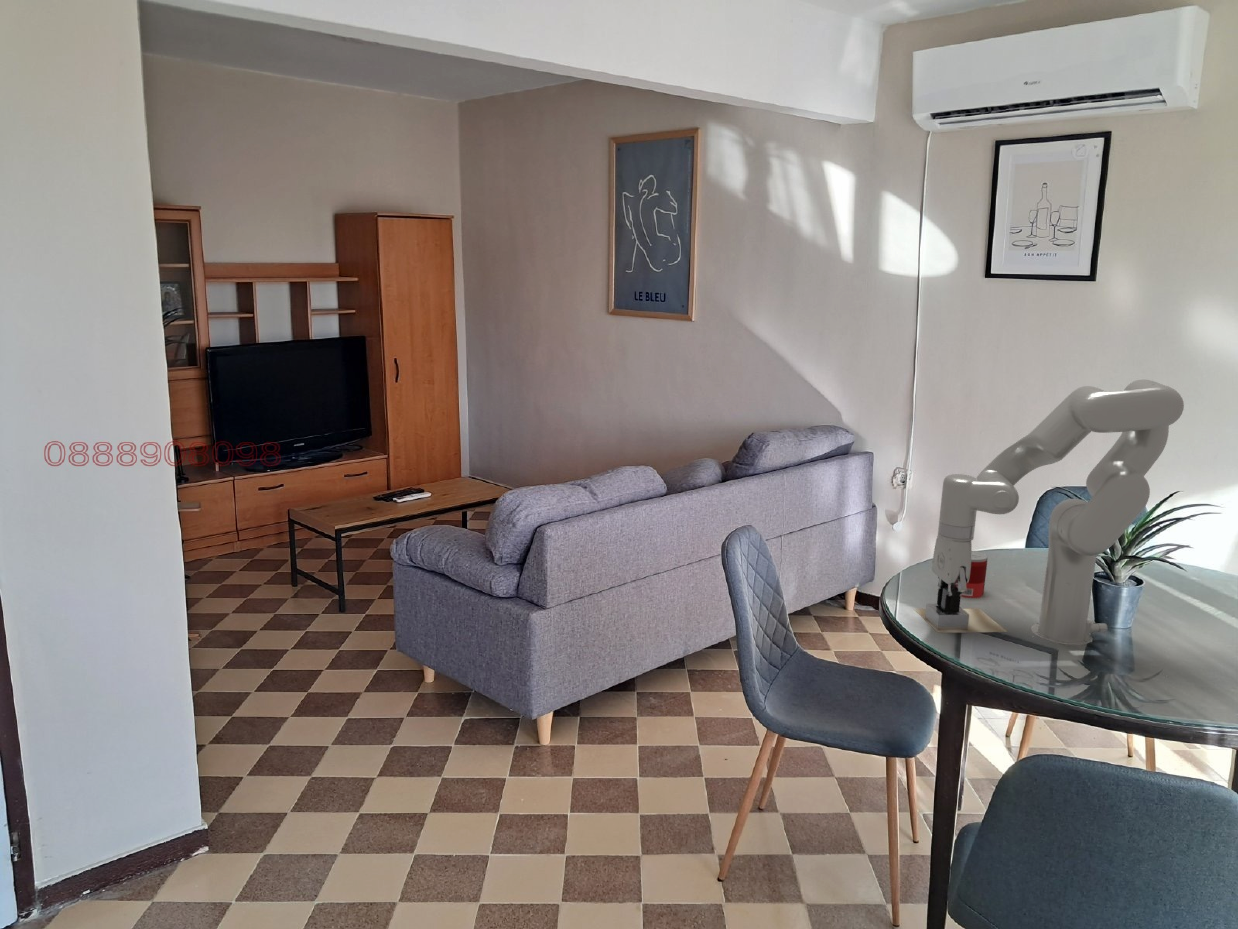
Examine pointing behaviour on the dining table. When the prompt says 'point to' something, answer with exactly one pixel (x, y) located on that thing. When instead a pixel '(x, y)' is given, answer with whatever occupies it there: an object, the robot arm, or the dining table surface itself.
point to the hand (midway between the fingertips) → (947, 607)
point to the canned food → (976, 576)
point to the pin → (945, 592)
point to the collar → (946, 618)
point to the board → (971, 622)
